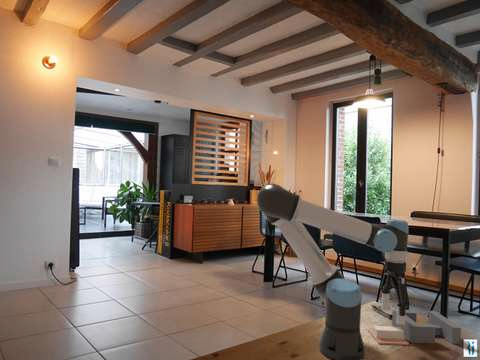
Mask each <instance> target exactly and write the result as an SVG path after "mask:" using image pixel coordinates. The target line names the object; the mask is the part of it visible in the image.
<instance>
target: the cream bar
mask: <svg viewBox="0 0 480 360" xmlns="http://www.w3.org/2000/svg"><path fill="white" fill-rule="evenodd" d="M372 330H373V335H374V336H375V337H376V338H386V339H403V338H404V337H405V336H404V331H403V330H402V329H401V328H400V327H395V326H394V325H393V326H389V325H388V326H387V325H372Z"/></svg>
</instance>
